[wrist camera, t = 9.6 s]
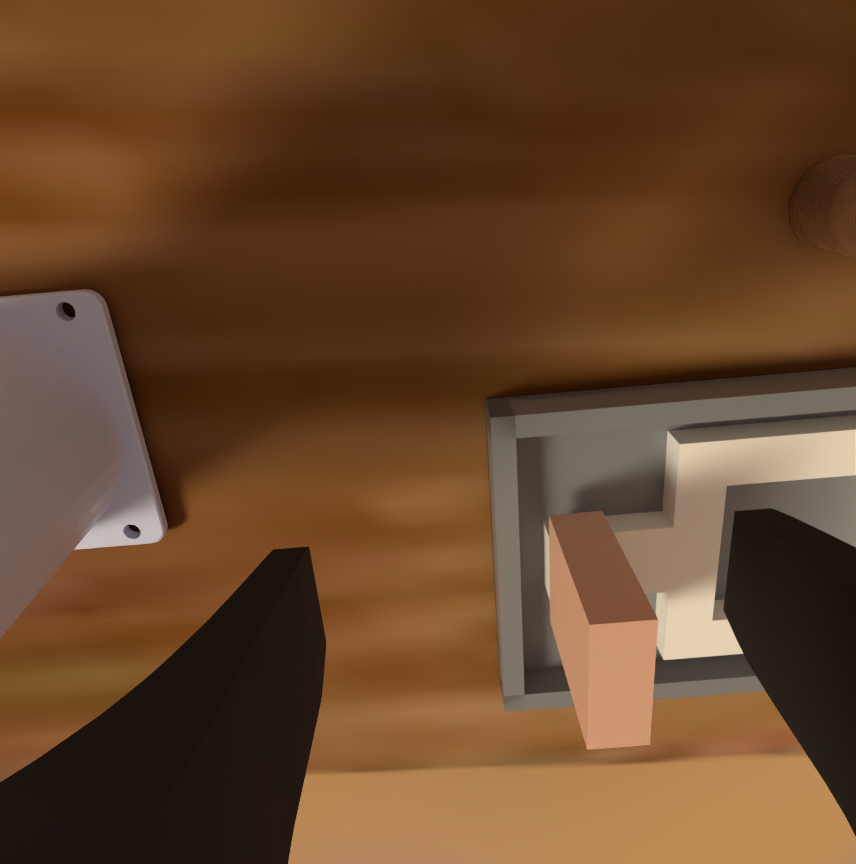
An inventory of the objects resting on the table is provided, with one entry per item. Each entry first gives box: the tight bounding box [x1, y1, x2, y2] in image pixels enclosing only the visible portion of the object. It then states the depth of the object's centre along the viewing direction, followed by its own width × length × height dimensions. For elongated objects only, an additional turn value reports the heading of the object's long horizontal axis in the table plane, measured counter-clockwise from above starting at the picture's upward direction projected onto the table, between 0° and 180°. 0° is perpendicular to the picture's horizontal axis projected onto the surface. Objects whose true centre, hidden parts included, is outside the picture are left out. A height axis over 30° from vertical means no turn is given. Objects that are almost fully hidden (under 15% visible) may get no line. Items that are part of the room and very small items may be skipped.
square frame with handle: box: [543, 415, 856, 750], centre depth 19 cm, size 12×8×6 cm
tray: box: [485, 367, 856, 712], centre depth 22 cm, size 16×11×2 cm
